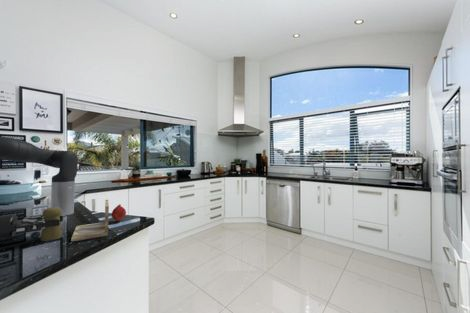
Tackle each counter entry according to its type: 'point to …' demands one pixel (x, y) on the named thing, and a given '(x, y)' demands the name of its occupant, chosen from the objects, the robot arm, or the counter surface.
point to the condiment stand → (92, 228)
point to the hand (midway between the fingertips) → (61, 220)
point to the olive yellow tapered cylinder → (54, 231)
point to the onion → (118, 213)
